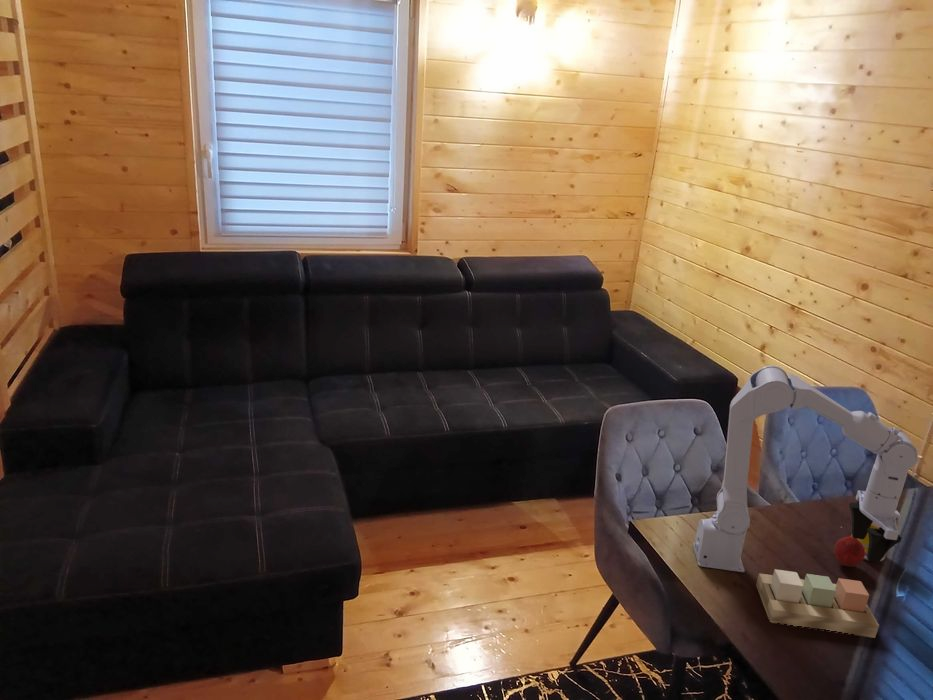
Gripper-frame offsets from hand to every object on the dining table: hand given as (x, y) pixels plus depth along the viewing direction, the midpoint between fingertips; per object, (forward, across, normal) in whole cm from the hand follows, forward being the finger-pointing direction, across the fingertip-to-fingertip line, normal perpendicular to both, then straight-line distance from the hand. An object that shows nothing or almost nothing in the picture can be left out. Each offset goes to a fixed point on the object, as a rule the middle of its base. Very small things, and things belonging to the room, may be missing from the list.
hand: (865, 548), depth 140 cm
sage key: (+7, -9, +11) cm, 16 cm away
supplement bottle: (+10, +14, -8) cm, 19 cm away
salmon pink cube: (+7, -9, +5) cm, 12 cm away
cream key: (+7, -9, +17) cm, 20 cm away
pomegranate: (+10, +8, -2) cm, 13 cm away
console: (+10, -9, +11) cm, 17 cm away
